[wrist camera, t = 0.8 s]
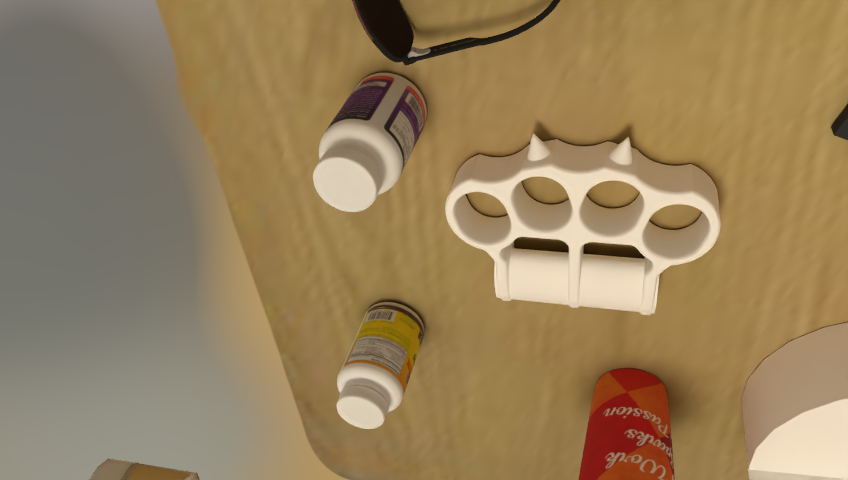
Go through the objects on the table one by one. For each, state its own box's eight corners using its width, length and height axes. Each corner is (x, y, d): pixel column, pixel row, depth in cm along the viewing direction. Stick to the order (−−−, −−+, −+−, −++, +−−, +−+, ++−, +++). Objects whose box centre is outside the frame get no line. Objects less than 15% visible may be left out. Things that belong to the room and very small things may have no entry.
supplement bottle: (404, 351, 66) (369, 444, 58) (355, 318, 64) (313, 408, 57) (438, 324, 62) (407, 419, 54) (387, 288, 61) (348, 380, 53)
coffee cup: (703, 395, 59) (712, 569, 48) (633, 433, 65) (626, 598, 53) (626, 343, 58) (616, 510, 47) (560, 386, 63) (538, 545, 52)
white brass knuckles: (463, 276, 58) (448, 116, 49) (699, 298, 53) (731, 126, 44) (454, 305, 55) (436, 142, 46) (701, 331, 50) (735, 155, 41)
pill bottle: (344, 119, 51) (292, 197, 44) (366, 57, 47) (313, 131, 40) (413, 151, 51) (371, 235, 44) (440, 92, 48) (400, 172, 40)
